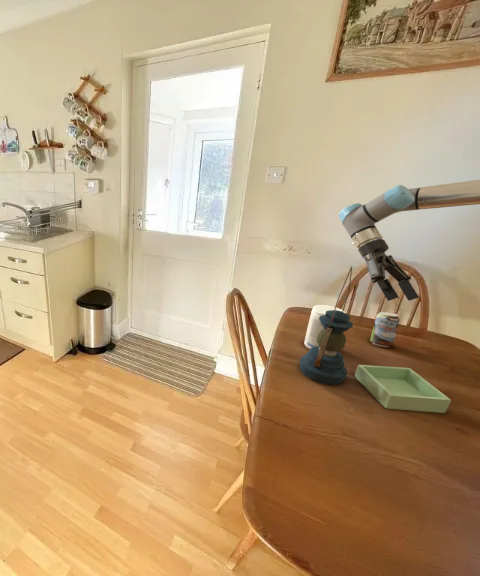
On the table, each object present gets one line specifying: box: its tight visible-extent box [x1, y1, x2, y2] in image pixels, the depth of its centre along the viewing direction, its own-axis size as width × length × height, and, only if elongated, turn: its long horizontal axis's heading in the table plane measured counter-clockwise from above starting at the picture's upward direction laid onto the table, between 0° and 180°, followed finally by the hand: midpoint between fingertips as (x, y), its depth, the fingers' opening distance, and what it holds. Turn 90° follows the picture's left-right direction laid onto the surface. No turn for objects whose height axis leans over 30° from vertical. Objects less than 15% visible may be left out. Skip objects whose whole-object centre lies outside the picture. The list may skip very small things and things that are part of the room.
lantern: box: [299, 265, 354, 386], centre depth 90 cm, size 14×12×35 cm
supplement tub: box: [303, 304, 347, 350], centre depth 107 cm, size 10×10×15 cm
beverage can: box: [369, 311, 401, 348], centre depth 109 cm, size 6×7×12 cm
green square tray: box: [354, 364, 452, 414], centre depth 87 cm, size 14×14×4 cm
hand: (403, 299), depth 101 cm, fingers open, 13 cm apart
